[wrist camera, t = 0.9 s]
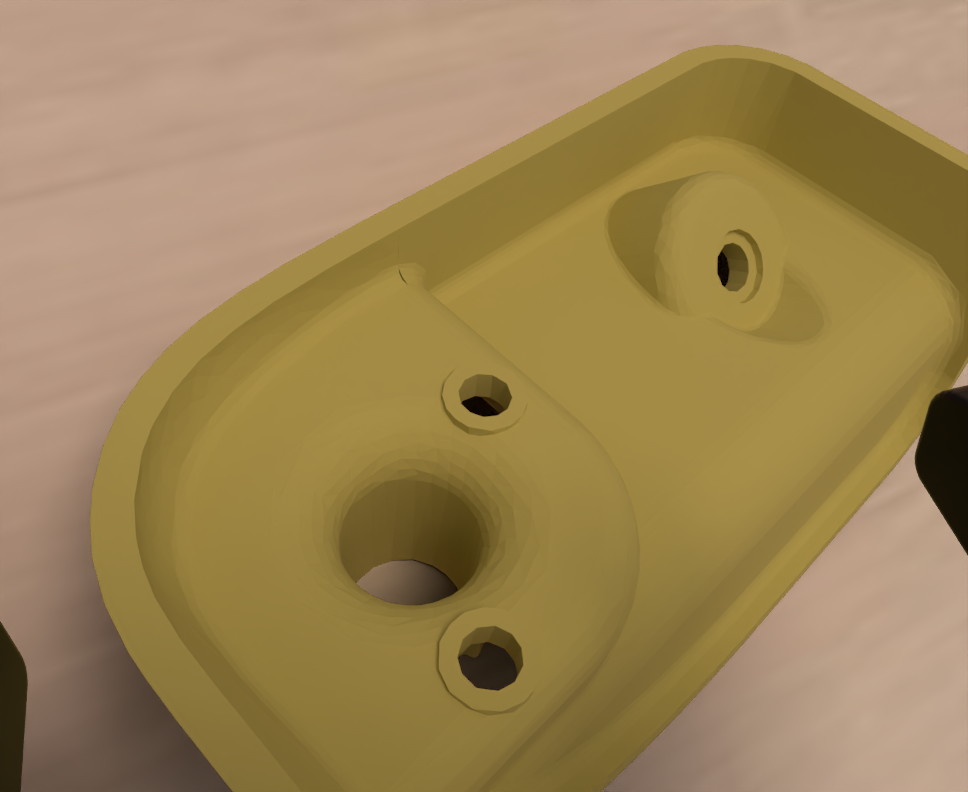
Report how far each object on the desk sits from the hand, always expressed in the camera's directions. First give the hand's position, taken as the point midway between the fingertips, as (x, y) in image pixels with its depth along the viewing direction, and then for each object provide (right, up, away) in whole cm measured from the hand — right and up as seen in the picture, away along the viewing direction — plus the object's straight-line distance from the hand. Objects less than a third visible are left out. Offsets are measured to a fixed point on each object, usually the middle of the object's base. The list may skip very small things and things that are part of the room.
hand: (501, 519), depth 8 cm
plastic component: (+2, +1, +12) cm, 13 cm away
